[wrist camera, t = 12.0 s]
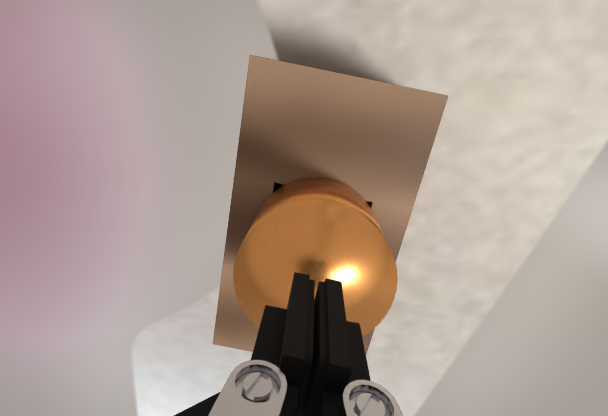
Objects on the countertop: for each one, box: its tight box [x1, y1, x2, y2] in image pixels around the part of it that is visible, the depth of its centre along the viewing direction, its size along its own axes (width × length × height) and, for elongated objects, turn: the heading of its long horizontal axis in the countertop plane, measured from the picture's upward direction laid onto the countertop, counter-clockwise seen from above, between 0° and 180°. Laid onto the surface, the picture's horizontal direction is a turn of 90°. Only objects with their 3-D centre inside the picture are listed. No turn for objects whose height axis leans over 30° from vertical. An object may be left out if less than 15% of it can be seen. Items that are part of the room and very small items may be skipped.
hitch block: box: [213, 55, 448, 354], centre depth 20 cm, size 16×9×6 cm, turn 169°
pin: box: [233, 177, 397, 337], centre depth 18 cm, size 6×6×10 cm
